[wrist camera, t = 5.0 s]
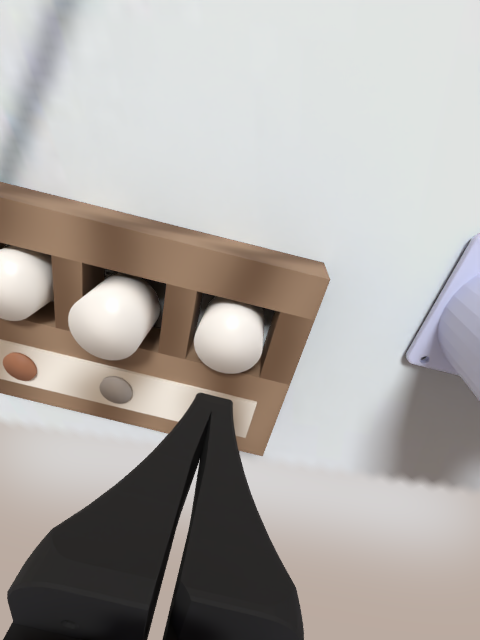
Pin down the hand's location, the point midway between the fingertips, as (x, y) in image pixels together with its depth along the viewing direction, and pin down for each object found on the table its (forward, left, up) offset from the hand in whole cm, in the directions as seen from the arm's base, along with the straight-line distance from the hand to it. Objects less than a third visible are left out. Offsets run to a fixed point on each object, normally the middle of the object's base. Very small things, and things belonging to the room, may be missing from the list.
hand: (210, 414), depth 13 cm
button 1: (+12, 0, -8) cm, 14 cm away
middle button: (+6, 0, -7) cm, 9 cm away
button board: (+6, +2, -8) cm, 11 cm away
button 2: (0, 0, -8) cm, 8 cm away
